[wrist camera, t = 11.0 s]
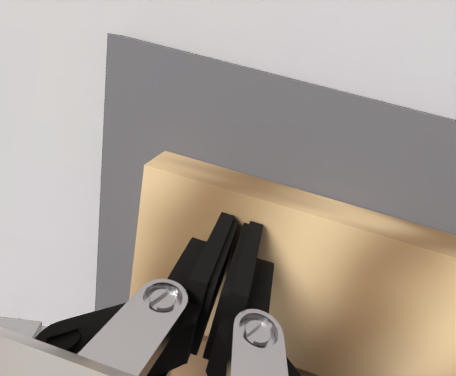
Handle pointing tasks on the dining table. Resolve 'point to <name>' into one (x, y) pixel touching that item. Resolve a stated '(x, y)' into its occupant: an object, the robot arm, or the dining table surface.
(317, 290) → the board
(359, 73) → the dining table surface
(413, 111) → the floor board
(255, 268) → the robot arm
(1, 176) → the dining table surface
